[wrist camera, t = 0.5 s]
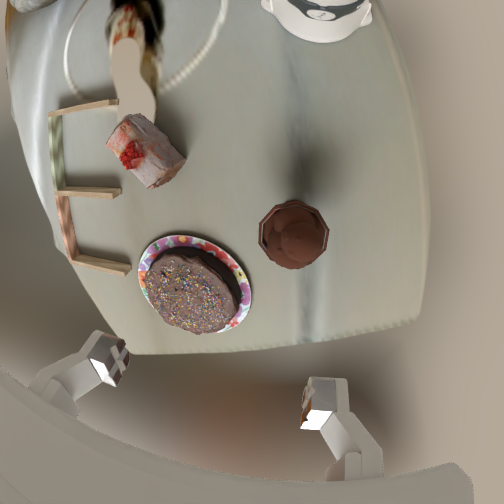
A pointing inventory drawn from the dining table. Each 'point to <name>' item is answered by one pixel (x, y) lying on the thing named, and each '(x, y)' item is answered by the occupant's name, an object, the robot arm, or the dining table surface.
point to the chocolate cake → (194, 284)
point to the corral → (77, 193)
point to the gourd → (30, 4)
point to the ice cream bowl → (293, 234)
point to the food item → (145, 151)
